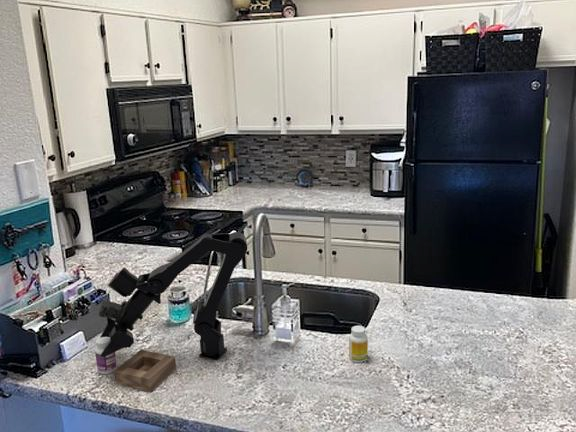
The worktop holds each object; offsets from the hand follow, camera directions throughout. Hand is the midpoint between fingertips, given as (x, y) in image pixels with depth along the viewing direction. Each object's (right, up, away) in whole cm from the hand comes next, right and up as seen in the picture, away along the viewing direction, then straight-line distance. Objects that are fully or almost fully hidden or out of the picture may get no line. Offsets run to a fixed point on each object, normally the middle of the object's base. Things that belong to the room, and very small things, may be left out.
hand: (101, 348), depth 150 cm
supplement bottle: (+74, -4, +3) cm, 75 cm away
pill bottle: (+1, -7, +2) cm, 7 cm away
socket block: (+13, -7, -2) cm, 15 cm away
